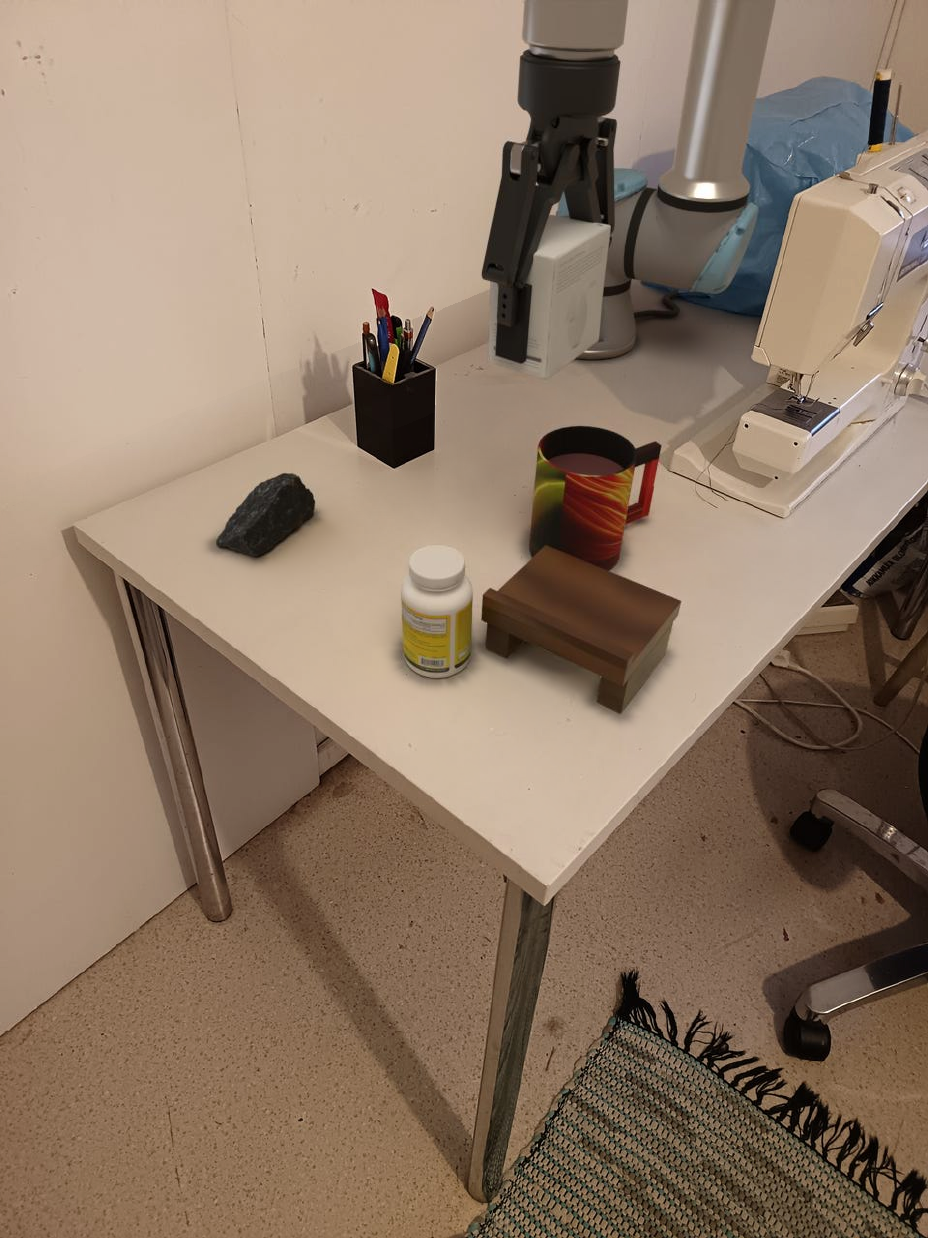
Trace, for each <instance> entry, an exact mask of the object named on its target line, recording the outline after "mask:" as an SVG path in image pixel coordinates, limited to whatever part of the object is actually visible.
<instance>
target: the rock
mask: <svg viewBox="0 0 928 1238" xmlns="http://www.w3.org/2000/svg"><path fill="white" fill-rule="evenodd" d="M315 507H316V500H315V497H314V494H313V492H312V491H311V490H310V489H309V488H307V486H306V485H305V484H304V483H303V482H302V479H301V477H300V476H299V475H297V474H296V473H293V472H292V473H288V472H287V473H286V472H282V473H281V474H278V475H276V476H274V477H271V478H268V479H266V480H264V481H261V482H259V483H258V484H257V485H256V486H255V487H254V488H253V490H251V492H249V493H248V494H247V496H246V497H245V498H244V500H243V501H242V503H241V504H240V505H238V506H237V507H236V509H235V511H234V512H233V513H232V515H231V516H230V517H228V520H227V521H226V524H225V526H224V529H223V530H222V532H221V533H220V534H219V535H218V536H217V538H216V540H215V544H216V546H217V547H219V548H221V549H224V548H229V550H234V551H236V552H237V551H238V552H239V553H242V554H247V555H250V556H252V557H259V556H261V555H262V554H264V553H266V552H268V551H270V550H271V549H272V548H273V547H274V546H275V545H276V544H277V543H279V542H281V541H282V540H283V539H284V538H285V537H288V535H289V534H290V533H292V532H291V531H293V530H295V529H298V528H299V527H301V525H302V523H303V522H305V521H307V520H309V519H311V518H313V517H314V514H315Z"/></svg>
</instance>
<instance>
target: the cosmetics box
mask: <svg viewBox="0 0 928 1238" xmlns="http://www.w3.org/2000/svg"><path fill="white" fill-rule="evenodd" d="M610 229H611V226H610V225H607V224H601V223H591V222H585V221H580V220H575V219H570V218H567V217H561V216H556V214H549V217H548V220H547V223H546V226H545V229H544V232H543V235H542V237H541V240H540V243H539V246H538V249H537V252H536V253H535V254H534V257H533V263H532V266H531V269H530V272H529V275H528V278H527V281H526V284H530V285H532V293H531V305H530V318H529V330H528V343H527V355H526V361H525V362H524V363H522V364H520V363H517V362H514V361H511V360H508V359H505V358H502V357H499V356H495V351H496V332H497V306H498V305H497V302H498V284H497V283H494V282H491V281H489V311H488V312H489V313H488V314H489V315H488V342H487V343H488V344H487V363H488V364H489V365H492V366H496V367H498V368H503V369H508V370H511V371H514V372H517V373H520V374H523V375H528V376H531V377H534V378H538V379H541V380H544V381H548V380H549V379H550V378H552V377H553V376H555V375H556V374H557V373H558V372H560V371H561V370H562V369H564V368H565V367H566V366H568V365H569V364H570V363H572V362H573V361H574V360H575V359H578V358H577V357H578V356H579V355H580V354H582V353H583V352H584V351H585V350H587V349H588V348H589V347H591V346H592V345H593V344H595V343H596V342H597V341H598V340H599V332H600V321H601V310H602V299H603V288H604V279H605V271H606V263H607V255H608V247H609V238H610ZM517 269H518V268H517Z"/></svg>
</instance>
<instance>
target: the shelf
mask: <svg viewBox="0 0 928 1238" xmlns="http://www.w3.org/2000/svg"><path fill="white" fill-rule="evenodd" d="M481 601H482V602H481V616H480V617H481V618H480V619H481V621H482V622H483V623H486V632H485V633H486V634H485V649H486V650H488V651H490V652H492V653H493V654H496V655H498V656H500V657H502V658H504V659H506V660H508V659H509V658H510V657H511V656H512V655H513V653H514V652H515V651H517V649H519V647H520V646H521V645H522V644H523V643H524V642H527V643H529V644H532V645H533V646H535V647H538V648H539V649H541V650H543V651H546V652H548V653H550V654H552V655H555V656H557V657H559V658H561V659H562V660H565V661H567V662H569V663H572V664H574V665H576V666H578V667H580V668H582V669H584V670H587V671H589V672H590V673H593V674H595V675H597V676H599V677H600V681H599V685H598V692H597V698H596V703H597V704H599V705H601V706H604V707H605V708H608V709H610V710H611V711H614V712H616V713H618V714H619V715H621V714H623V712H624V710H626V709H627V707H628V705H630V703H631V701H632V700H633V699H634V698H635V696H636V695H637V693H638V692H639V690H641V688H642V687H643V686H644V684H645V683H646V682H647V680H648V679H649V678H650V676H651V675H652V674H653V672H654V671H655V670H656V668H657V667H658V666H659V664H660V663H661V662H662V660H663V659H664V658H665V657H666V653H667V649H668V645H669V641H670V638H671V637H670V636H671V633H672V629H673V624H674V622H675V620H676V619H677V618H678V616H679V614H680V613H679V612H680V609H681V606H682V600H680V599H678V598H676V597H673V596H671V595H668V594H665V593H663V592H661V591H658V590H656V589H654V588H651V587H649V586H646V585H643V584H641V583H639V582H637V581H634V580H632V579H629V578H626V577H625V576H622V575H620V574H618V573H615V572H612V571H610V570H609V571H608V570H605V569H603V568H600V567H598V566H595V565H593V564H591V563H588V562H586V561H583V560H581V559H578V558H576V557H574V556H571V555H569V554H566V553H564V552H561V551H559V550H557V549H554V548H552V547H549V546H547V545H545V546H544V547H543V548H542V549H541V550H540V551H539V552H538V553H537V554H536V555H535V556H534V557H533V558H532V557H531V559H529V560H528V561H527V562H526V563H525V564H524V565H523V566H522V567H521V568H520V569H519V570H517V572H515V573H514V574H513V575H512V576H511V577H510V578H509V579H508V580H507V581H506V582H505V583H503V584H502V586H500V587H499V588H498V590H496V589H493V588H491V587H489V588H487V590H486V591H485V592H484V593H483V594H482V600H481Z"/></svg>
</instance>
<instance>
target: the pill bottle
mask: <svg viewBox="0 0 928 1238" xmlns="http://www.w3.org/2000/svg"><path fill="white" fill-rule="evenodd" d="M473 592H474V590H473V585H472V583H471V580H470V578H469V577H468V575H467V574H466V560H465V557H464V555H463V554H462V553H461V552H460V551H459V550H457V549H456V548H454V547H452V546H449V545H445V544H444V545H443V544H431V545H426V546H423V547H421V548H418V549H417V550H415V551H413V552H412V553H411V555H410V557H409V559H408V574H407V576H406V577H405V578H404V580H403V582H402V584H401V589H400V598H401V599H400V603H401V626H402V627H401V628H402V629H401V630H402V647H403V648H402V649H403V650H402V652H403V658H404V661H405V662H406V664H407V666H408V667H409V668H410V669H411V670H412V671H413V672H415V673H416V674H418V675H420V676H423V677H426V678H433V679H434V678H435V679H441V678H447V677H451V676H453V675H456V674H458V673H459V672H461V671H462V670H464V669H465V668H466V666H467V665H468V664H469V661H470V659H471V654H472V633H473V631H472V627H473V598H474V593H473Z"/></svg>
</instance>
